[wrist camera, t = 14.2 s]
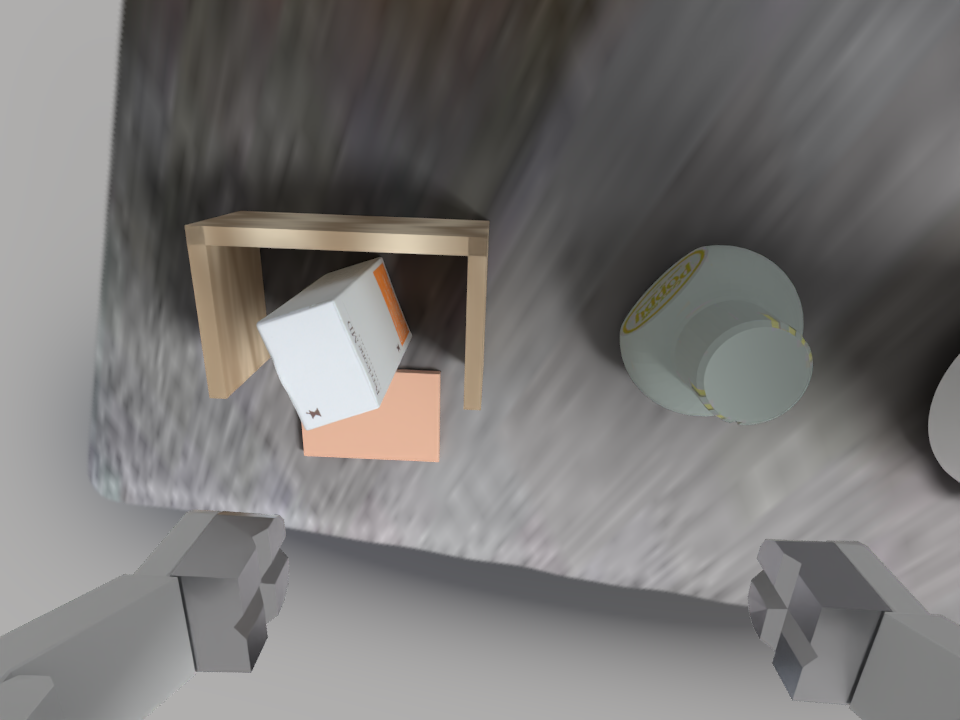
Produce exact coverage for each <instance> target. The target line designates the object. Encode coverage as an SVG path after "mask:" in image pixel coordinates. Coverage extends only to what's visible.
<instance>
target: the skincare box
mask: <svg viewBox="0 0 960 720" xmlns="http://www.w3.org/2000/svg"><path fill="white" fill-rule="evenodd" d="M256 326H257V329H258V331H259V333H260V335H261V338H262V340H263V342H264V344H265V346H266V348H267V350H268V352H269V354H270V356H271V359H272V361H273V363H274V366H275V369H276V372H277V374H278V377H279V379H280V381H281V383H282V385H283V387H284V388H285V390H286V391H287V393H288V395H289V397H290V399H291V401H292V403H293V405H294V407H295V409H296V411H297V413H298V416H299V418H300V420H301V422H302V424H303V426H304V428H305V429H306V430H311V429H314V428H317V427H321V426H324V425H327V424H330V423H333V422H336V421H339V420H342V419H346V418H349V417H352V416H355V415H358V414H362V413H365V412H368V411H371V410H375V409H378V408H379V407H380V405H381V403H382V400H383V398H384V396H385V394H386V392H387V390H388V387H389V385H390V383H391V381H392V379H393V377H394V374H395V372H396V370H397V368H398V366H399V364H400V361H401V359H402V357H403V355H404V353H405V351H406V349H407V346H408V344H409V342H410V340H411V338H412V334H411V332H410V330H409V327H408V325H407V322H406V320H405V317H404V315H403V312H402V310H401V307H400V305H399V302H398V300H397V297H396V294H395V292H394V289H393V286H392V283H391V281H390V278H389V275H388V272H387V270H386V267H385V264H384V261H383V259H382V257H378V258H375V259H372V260H369V261H365V262H362V263H359V264H356V265H352V266H349V267H346V268H343V269H340V270H336V271H333V272H330V273H327V274H325V275H324V276H322V277H321V278H319V279H318V280H317V281H315V282H314V283H313V284H311V285H310V286H308V287H307V288H305V289H304V290H303V291H301V292H300V293H299V294H297V295H296V296H294V297H293V298H292V299H290V300H289V301H287V302H286V303H285V304H283V305H282V306H281V307H279V308H278V309H276V310H275V311H273V312H272V313H271V314H269V315H267V316H266V317H265V318H263V319H261V320H260V321H258V322H257V324H256Z"/></svg>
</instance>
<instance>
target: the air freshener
mask: <svg viewBox="0 0 960 720" xmlns="http://www.w3.org/2000/svg"><path fill="white" fill-rule="evenodd" d="M802 335H803V311H802V306H801V302H800V299H799V296H798V294H797V292H796V289H795V287H794V285H793V284H792V282H791V281H790V280H789V278H788V277H787V275H786V274H785V273H784V272H783V271H782V270H781V269H780V268H779V267H778V266H777V265H776V264H775V263H773V262H772V261H770V260H769V259H767V258H766V257H764V256H763V255H760V254H758V253H756V252H753V251H751V250H748V249H745V248H740V247H735V246H728V245H711V246H704V247H700V248H697V249H695V250H693V251H692V252H690V253H689V254H687V255H686V256H684V257H683V258H681V259H680V260H679V261H678V262H676V263H675V264H674V265H673V266H671V267H670V268H669V269H668V270H667V271H666V272H665V273H664V274H663V275H661V276H660V277H659V278H658V279H657V280H656V281H655V282H654V283H653V284H652V285H651V287H650V288H649V289H648V290H647V291H646V292H645V293H644V294H643V295H642V297H641V298H640V299H639V300H638V301H637V303H636V304H635V305H634V307H633V308H632V309H631V311H630V312H629V314H628V315H627V317H626V318H625V320H624V322H623V324H622V326H621V329H620V348H621V355H622V359H623V362H624V365H625V368H626V370H627V372H628V373H629V375H630V377H631V379H632V381H633V382H634V383H635V384H636V386H637V387H638V388H639V389H640V391H641V392H642V393H644V394H645V395H646V396H647V397H648V398H650V399H651V400H652V401H654V402H655V403H657V404H659V405H660V406H662V407H664V408H666V409H669V410H672V411H674V412H677V413H681V414H686V415H691V416H717V417H719V418H720V419H721V420H723V421H726V422H728V423H731V422H733V421H736V422H737V424H738V425H753V424H759V423H763V422H767V421H770V420H772V419H775V418H777V417H778V416H780V415H782V414H784V413H785V412H786V411H788V410H789V409H790V408H792V407H793V406H794V405H795V404H796V403H797V402H798V401H799V399H800V398H801V397H802V395H803V394H804V393H805V391H806V389H807V387H808V385H809V382H810V379H811V377H812V371H813V359H812V355H811V349H810V347H809V345H808V343H807V342H805V340H804V339H803V336H802Z"/></svg>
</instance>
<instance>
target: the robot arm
mask: <svg viewBox="0 0 960 720" xmlns="http://www.w3.org/2000/svg"><path fill="white" fill-rule="evenodd" d="M928 433H929V440H930V444H931V448H932V451H933V453H934V455H935V457H936V459H937V461H938V462H939V464H940V465H941V466H942V468H943V469H944V470H945V471H946V472H947V473H948V474H949V475H950V476H951V477H953V478H954V479H955V480H957V481H958V482H959V483H960V354H959V355H958V356H957V358H956V359H955V360H954V361H953V363H952V364H951V365H950V367H949V368H948V370H947V371H946V373H945V374H944V376H943V378H942V380H941V381H940V383H939V385H938V388H937V390H936V392H935V395H934V397H933V401H932V404H931V408H930V413H929V421H928ZM285 537H286V533H285V525H284V519H283V518H282V517H281V516H280V515H270V514H256V513H242V512H228V511H222V512H220V511H209V510H192V511H189V512H187V513H185V515H184V516H183V517H182V518H181V519H180V520H179V521H178V523H177V524H176V525H175V526H174V527H173V529H172V530H171V531H170V532H169V533H168V534H167V536H166V537H165V538H164V539H163V540H162V541H161V543H160V544H159V545H158V546H157V547H156V548H155V550H154V551H153V552H152V553H151V554H150V556H149V557H148V558H147V559H146V560H145V561H144V563H143V564H142V565H141V566H140V567H139V568H138V570H137V571H136V572H135V573H134V574H133V575H127V574H123V575H122V576H119V577H118V578H116V579H113V580H112V581H110V582H108V583H105V584H103V585H102V586H100V587H98V588H96V589H94V590H92V591H90V592H88V593H86V594H84V595H82V596H80V597H78V598H76V599H74V600H72V601H70V602H68V603H66V604H64V605H62V606H60V607H58V608H56V609H54V610H52V611H50V612H48V613H46V614H44V615H42V616H40V617H38V618H36V619H34V620H32V621H30V622H28V623H26V624H24V625H22V626H21V627H18V628H17V629H14V630H12V631H10V632H9V633H7V634H5V635H3V636H1V637H0V720H143V719H144V718H145V717H147V716H148V715H149V714H150V713H151V712H153V711H154V710H155V709H156V708H157V707H158V706H160V705H161V704H162V703H163V702H164V701H165V700H167V699H168V698H169V697H170V696H171V695H173V693H175V692H176V691H177V690H178V689H180V688H181V687H182V686H183V685H184V684H185V683H187V682H188V681H189V680H190V679H191V678H192V677H194V676H195V675H196V672H202V671H203V672H243V673H251V671H252V670H253V668H254V665H255V663H256V661H257V659H258V657H259V655H260V653H261V651H262V649H263V646H264V644H265V642H266V640H267V638H268V635H267V627H266V624H267V623H268V622H269V621H271V620H272V619H274V618H275V617H276V616H278V614H279V612H280V610H281V607H282V605H283V603H284V600H285V596H286V592H287V587H288V582H289V562H288V557H287V556H286V554H285V553H284V552H282V550H281V549H280V546H281V544H282V542H283V541H284V538H285ZM757 560H758V562H759V563H760V565H761V567H762V568H763V570H762V571H761V572H760V573H759V574H758V575H757V576H755V577H754V578H753V579H752V580H751V584H750V588H749V593H748V606H749V615H750V617H751V621H752V625H753V627H754V629H755V631H756V633H757V635H758V637H759V639H760V640H761V641H762V642H764V643H765V644H766V645H768V646H769V647H770V648H772V649H773V650H774V651H775V655H774V658H773V662H772V664H773V666H774V667H775V669H776V671H777V673H778V675H779V677H780V678H781V680H782V682H783V684H784V686H785V688H786V690H787V691H788V693H789V695H790V697H791V699H792V700H793V701H804V702H816V703H829V704H841V705H850V707H849V708H850V709H851V710H852V711H853V712H854V713H855V714H856V715H858V716H859V717H860V718H861V719H862V720H960V625H958V624H956V623H955V622H953V621H951V620H949V619H947V618H946V617H944V616H942V615H935V614H930V613H929V612H928V611H927V610H926V609H925V608H924V607H923V606H922V605H921V604H920V602H919V601H918V600H917V599H916V598H915V597H914V596H913V595H912V594H911V593H910V592H909V591H908V590H907V589H906V587H905V586H904V585H903V584H902V583H901V582H900V581H899V580H898V579H897V578H896V577H895V576H894V575H893V574H892V572H891V571H890V570H889V569H888V568H887V567H886V566H885V565H884V564H883V563H882V562H881V561H880V560H879V559H878V557H877V556H876V555H875V554H874V553H873V552H872V551H871V550H870V549H869V548H868V547H867V546H866V545H864V544H862V543H860V542H858V541H826V542H821V541H798V540H776V539H765V541H764V542H763V543H762V545H761V546H760V549H759V553H758V556H757ZM195 671H196V672H195Z"/></svg>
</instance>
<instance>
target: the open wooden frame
mask: <svg viewBox="0 0 960 720" xmlns="http://www.w3.org/2000/svg"><path fill="white" fill-rule="evenodd" d="M184 227H185V233H186V240H187V247H188V254H189V261H190V267H191V274H192V281H193V288H194V295H195V301H196V308H197V315H198V322H199V329H200V335H201V342H202V349H203V356H204V363H205V369H206V376H207V383H208V390H209V397H210V398H221V399H227V398H228V397H229V396H230V395H231V394H232V393H233V392H234V391H235V390H236V389H237V388H239V387H240V386H241V385H242V384H243V383H244V382H245V381H246V380H247V379H248V378H249V377H250V376H251V375H252V374H253V373H254V372H256V371H257V370H258V369H259V368H260V367H261V366H262V365H263V364H264V363H265V362H266V361H267V360H268V359H269V358H270V357H271V356H270V354H269V352H268V350H267V348H266V346H265V344H264V342H263V340H262V338H261V335H260V333H259V331H258V329H257V326H256V324H257V322H258V321H260V320H261V319H263V318H265V317H266V316H267V315H266V305H265V296H264V286H263V276H262V266H261V256H260V247H262V248H287V249H311V250H335V251H360V252H384V253H408V254H433V255H457V256H468V275H467V311H466V346H465V381H464V409H467V410H481V398H482V382H483V365H484V340H485V316H486V291H487V267H488V242H489V221H483V220H458V219H433V218H408V217H383V216H358V215H333V214H308V213H283V212H258V211H238V212H234V213H230V214H226V215H222V216H218V217H215V218H211V219H207V220H203V221H199V222H195V223H191V224H188V225H184Z"/></svg>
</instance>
